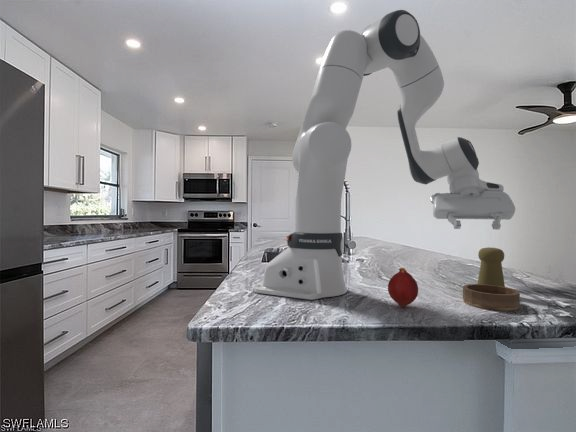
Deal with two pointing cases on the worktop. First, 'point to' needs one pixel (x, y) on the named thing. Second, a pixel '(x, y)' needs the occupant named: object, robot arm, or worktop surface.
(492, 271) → the cork
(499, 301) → the spice holder
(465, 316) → the worktop surface
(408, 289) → the onion
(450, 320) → the worktop surface
